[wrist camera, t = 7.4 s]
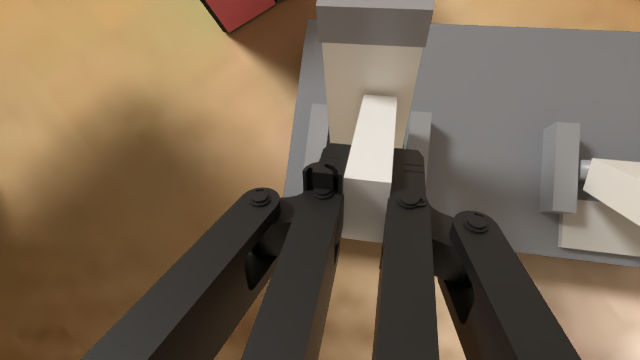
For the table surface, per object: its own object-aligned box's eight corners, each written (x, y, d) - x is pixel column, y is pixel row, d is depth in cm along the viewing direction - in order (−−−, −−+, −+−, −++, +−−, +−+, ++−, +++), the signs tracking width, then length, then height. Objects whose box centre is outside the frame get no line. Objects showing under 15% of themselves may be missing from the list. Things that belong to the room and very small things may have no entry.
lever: (328, 166, 23) (312, 5, 13) (333, 140, 24) (321, -26, 14) (400, 173, 22) (436, 9, 13) (402, 146, 23) (436, -24, 14)
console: (289, 223, 26) (273, 222, 22) (313, 40, 28) (303, 4, 23) (637, 266, 23) (703, 275, 19) (642, 56, 25) (703, 18, 20)
